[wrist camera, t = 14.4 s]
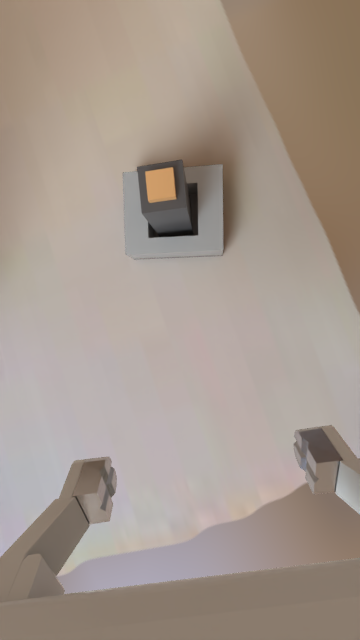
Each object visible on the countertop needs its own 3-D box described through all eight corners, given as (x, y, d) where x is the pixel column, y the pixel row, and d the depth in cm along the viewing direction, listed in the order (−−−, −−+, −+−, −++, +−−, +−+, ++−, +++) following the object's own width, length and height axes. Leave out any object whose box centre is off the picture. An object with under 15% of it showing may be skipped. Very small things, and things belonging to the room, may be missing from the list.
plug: (161, 238, 32) (139, 211, 22) (157, 204, 32) (135, 163, 22) (193, 234, 31) (185, 204, 22) (190, 200, 31) (181, 155, 22)
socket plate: (134, 259, 33) (125, 254, 29) (132, 186, 32) (122, 172, 29) (222, 255, 32) (223, 250, 28) (221, 179, 31) (222, 164, 27)
